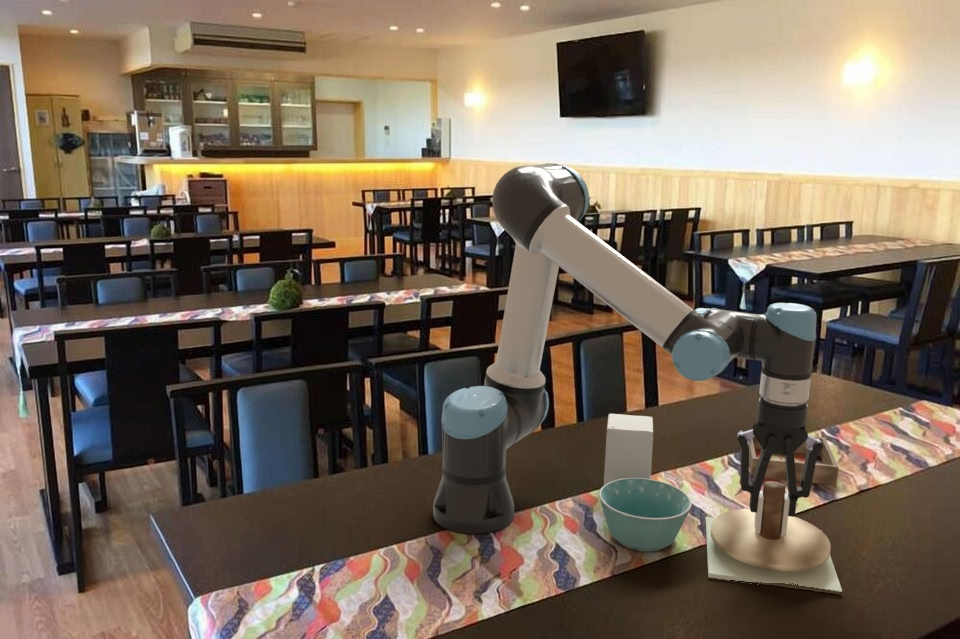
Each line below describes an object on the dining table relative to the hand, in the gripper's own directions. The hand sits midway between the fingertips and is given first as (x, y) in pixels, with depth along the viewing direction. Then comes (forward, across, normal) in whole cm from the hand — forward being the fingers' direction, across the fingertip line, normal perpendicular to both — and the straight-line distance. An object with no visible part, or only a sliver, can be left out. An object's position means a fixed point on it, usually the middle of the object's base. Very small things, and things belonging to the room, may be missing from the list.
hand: (769, 530), depth 135 cm
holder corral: (+5, +8, +41) cm, 42 cm away
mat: (+5, 0, 0) cm, 5 cm away
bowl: (+5, -21, 0) cm, 21 cm away
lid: (+2, 0, 0) cm, 2 cm away
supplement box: (+5, -25, +18) cm, 31 cm away
